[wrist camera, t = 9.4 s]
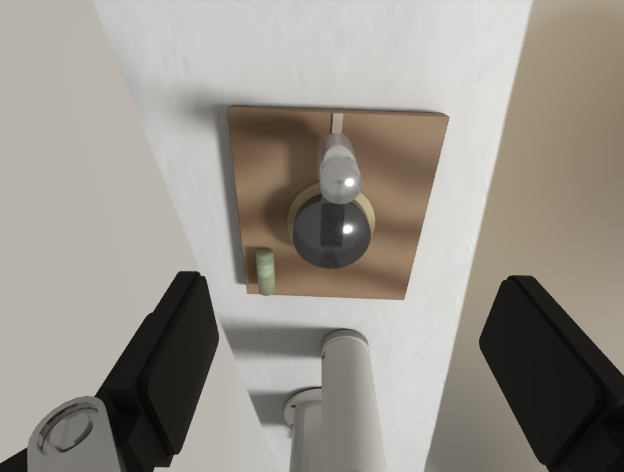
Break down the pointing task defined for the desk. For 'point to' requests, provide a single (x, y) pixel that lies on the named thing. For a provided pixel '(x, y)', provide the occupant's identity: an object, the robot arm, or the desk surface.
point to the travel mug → (349, 406)
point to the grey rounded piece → (333, 211)
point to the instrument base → (306, 184)
